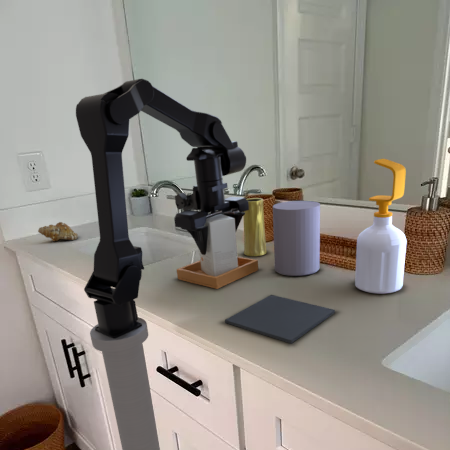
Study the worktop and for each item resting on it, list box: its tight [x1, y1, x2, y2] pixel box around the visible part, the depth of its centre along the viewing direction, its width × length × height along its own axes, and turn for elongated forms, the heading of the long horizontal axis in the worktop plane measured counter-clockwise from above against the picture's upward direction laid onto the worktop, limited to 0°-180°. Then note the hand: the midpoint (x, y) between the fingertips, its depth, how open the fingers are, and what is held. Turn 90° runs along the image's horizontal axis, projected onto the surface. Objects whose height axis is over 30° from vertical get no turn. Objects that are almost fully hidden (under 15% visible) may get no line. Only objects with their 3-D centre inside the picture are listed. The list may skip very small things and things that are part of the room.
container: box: [272, 200, 321, 277], centre depth 97 cm, size 10×10×15 cm
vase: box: [242, 197, 268, 257], centre depth 112 cm, size 6×6×14 cm
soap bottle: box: [354, 158, 408, 295], centre depth 82 cm, size 9×9×25 cm
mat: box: [224, 294, 336, 344], centre depth 76 cm, size 14×14×1 cm
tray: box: [176, 255, 259, 290], centre depth 101 cm, size 15×13×2 cm
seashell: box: [37, 221, 79, 242], centre depth 146 cm, size 9×8×10 cm
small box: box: [199, 214, 238, 277], centre depth 98 cm, size 8×6×13 cm
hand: (217, 248), depth 99 cm, fingers closed on small box, 8 cm apart
